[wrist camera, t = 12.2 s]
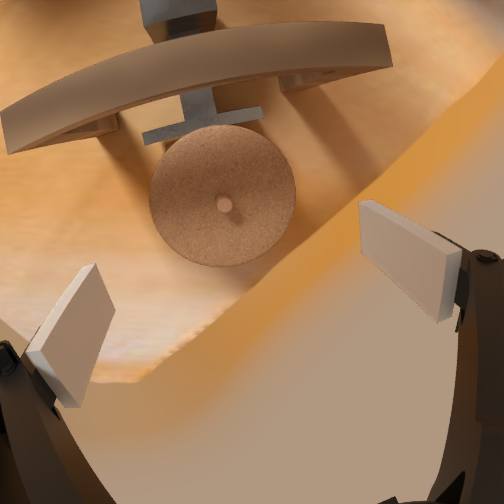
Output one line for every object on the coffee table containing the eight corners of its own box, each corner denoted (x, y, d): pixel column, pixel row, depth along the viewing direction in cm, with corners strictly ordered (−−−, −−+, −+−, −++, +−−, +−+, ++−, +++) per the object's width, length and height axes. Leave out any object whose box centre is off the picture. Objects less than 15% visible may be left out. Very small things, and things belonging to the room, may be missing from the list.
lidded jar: (293, 159, 29) (331, 175, 20) (240, 250, 32) (254, 298, 23) (195, 105, 26) (191, 95, 17) (144, 205, 29) (121, 240, 20)
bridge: (90, 113, 24) (0, 111, 10) (301, 65, 25) (383, 24, 12) (96, 136, 25) (8, 154, 11) (305, 89, 26) (392, 66, 13)
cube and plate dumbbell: (132, 22, 21) (110, -9, 13) (227, 1, 21) (236, -37, 14) (156, 141, 26) (137, 148, 19) (252, 119, 26) (270, 117, 19)
